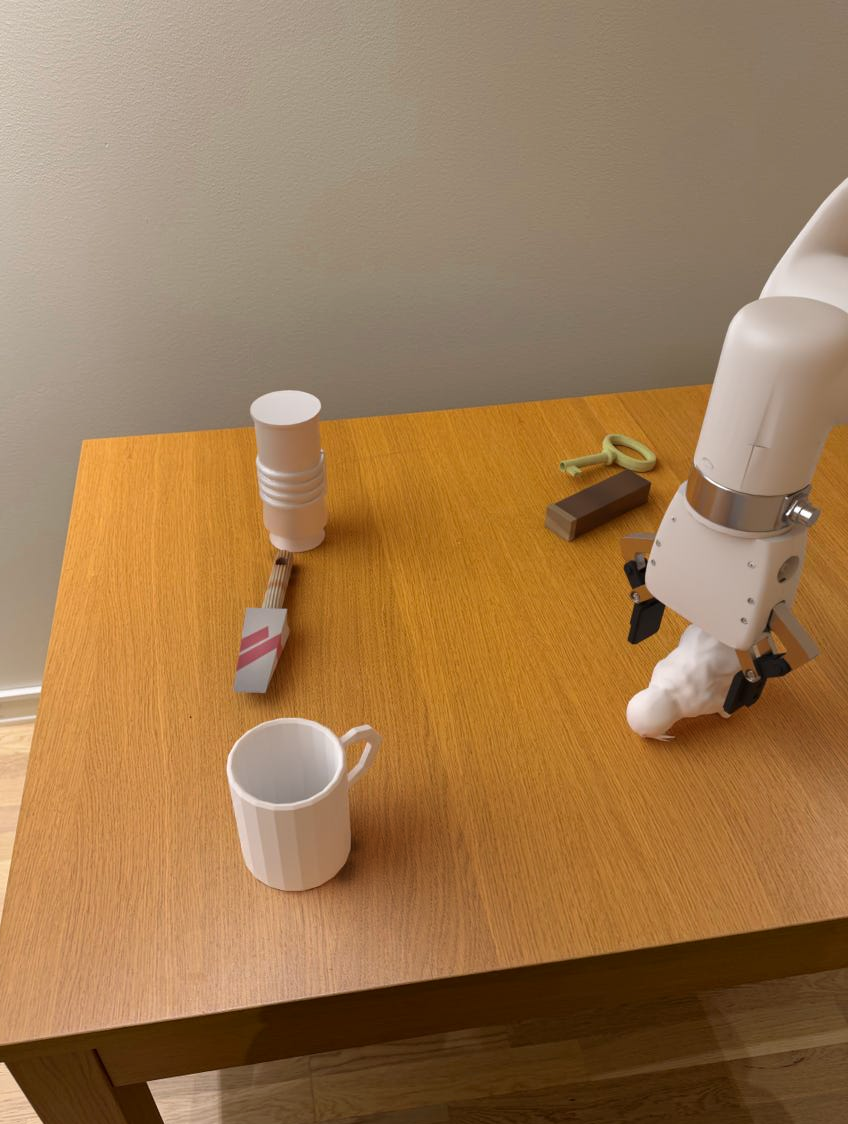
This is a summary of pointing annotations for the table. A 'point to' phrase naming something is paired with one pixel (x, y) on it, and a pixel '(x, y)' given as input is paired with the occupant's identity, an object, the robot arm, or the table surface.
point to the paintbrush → (264, 632)
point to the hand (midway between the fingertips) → (688, 669)
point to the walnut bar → (597, 504)
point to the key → (613, 456)
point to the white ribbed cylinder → (291, 469)
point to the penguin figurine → (685, 684)
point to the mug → (295, 799)
